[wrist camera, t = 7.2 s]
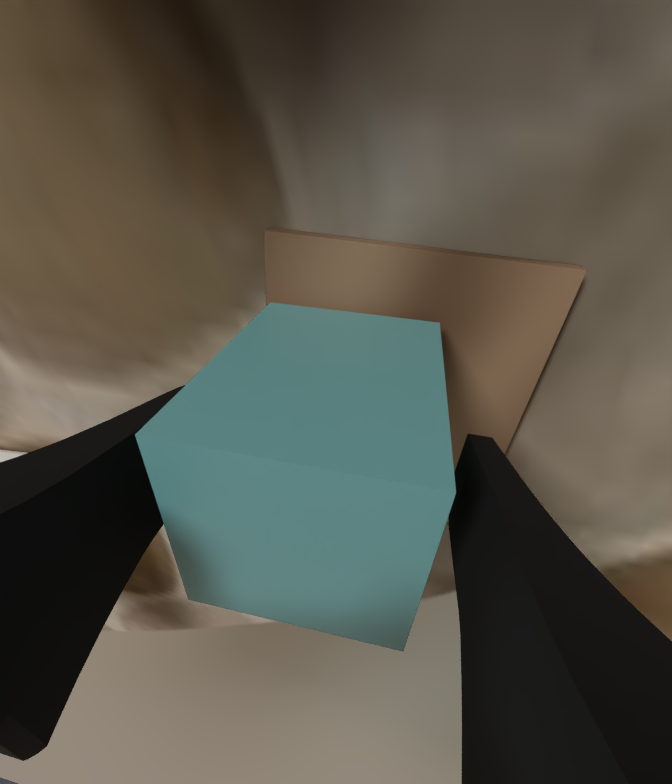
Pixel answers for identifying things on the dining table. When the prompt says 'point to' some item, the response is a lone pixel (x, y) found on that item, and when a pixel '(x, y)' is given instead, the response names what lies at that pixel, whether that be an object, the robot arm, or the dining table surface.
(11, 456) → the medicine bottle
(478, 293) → the tan flat board
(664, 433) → the dining table surface
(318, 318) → the teal rectangular block
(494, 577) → the robot arm
